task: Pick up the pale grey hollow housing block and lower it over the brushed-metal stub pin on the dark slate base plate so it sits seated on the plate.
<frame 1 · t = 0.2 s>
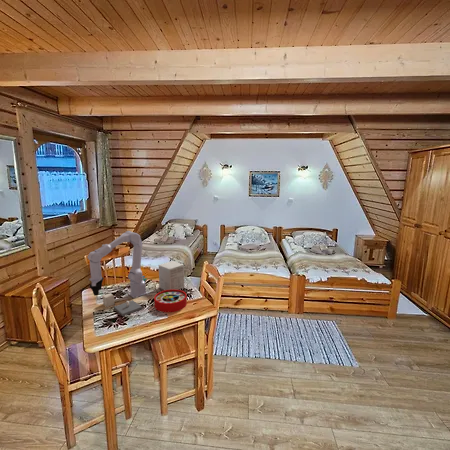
hand: (97, 292, 158), 10 cm above the table, fingers open, 7 cm apart
toy clock: (170, 305, 164), on the table
gear: (139, 284, 194), on the table
supplement box: (171, 287, 189), on the table
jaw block: (108, 304, 163), on the table
stub plate: (128, 309, 158), on the table
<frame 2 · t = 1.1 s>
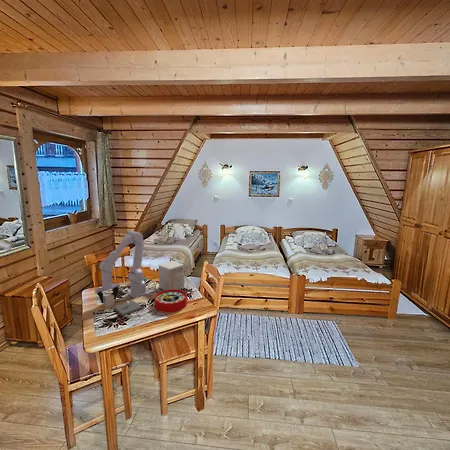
hand: (108, 300, 163), 2 cm above the table, fingers open, 7 cm apart
nothing on the table moved.
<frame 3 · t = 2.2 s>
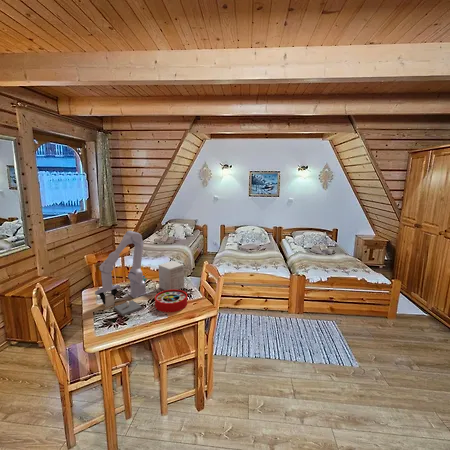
hand: (108, 302, 163), 2 cm above the table, fingers closed on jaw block, 5 cm apart
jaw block: (108, 304, 163), on the table, touching gripper
everything else where it was.
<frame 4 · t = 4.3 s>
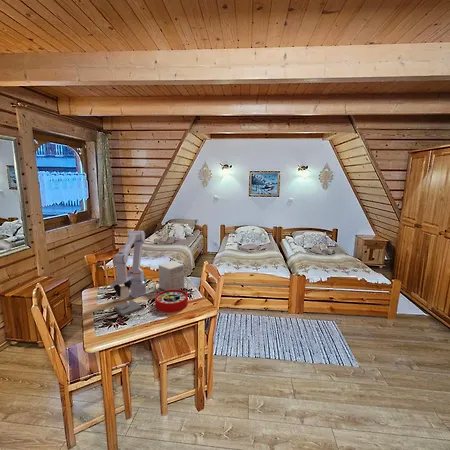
hand: (122, 294, 157), 9 cm above the table, fingers closed on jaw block, 5 cm apart
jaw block: (122, 297, 157), point 7 cm above the table, touching gripper
everything else where it was.
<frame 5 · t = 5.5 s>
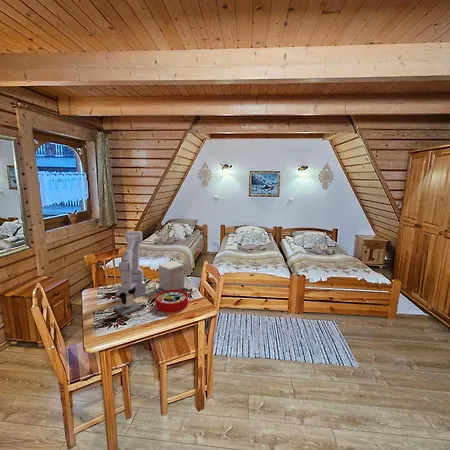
hand: (127, 301, 157), 5 cm above the table, fingers closed on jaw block, 5 cm apart
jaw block: (127, 304, 157), point 3 cm above the table, touching gripper
everything else where it was.
when the fingers open (5 cm above the table, at t = 6.3 s): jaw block drops 1 cm, resting on stub plate.
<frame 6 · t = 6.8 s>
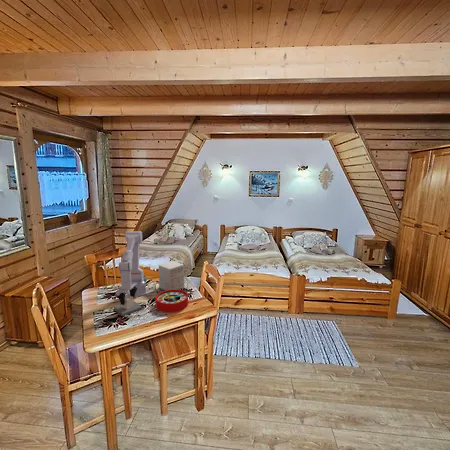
hand: (127, 301, 157), 5 cm above the table, fingers open, 7 cm apart
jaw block: (127, 306, 157), point 1 cm above the table, touching stub plate
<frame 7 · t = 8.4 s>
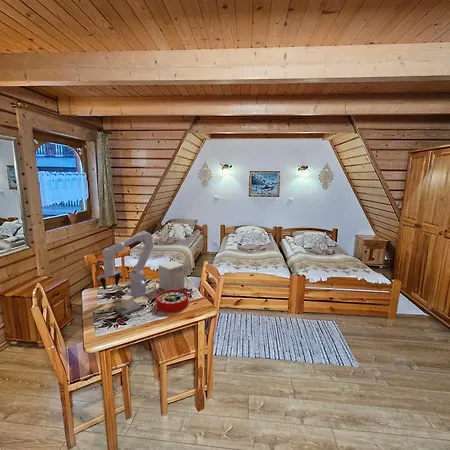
hand: (110, 287, 166), 9 cm above the table, fingers open, 7 cm apart
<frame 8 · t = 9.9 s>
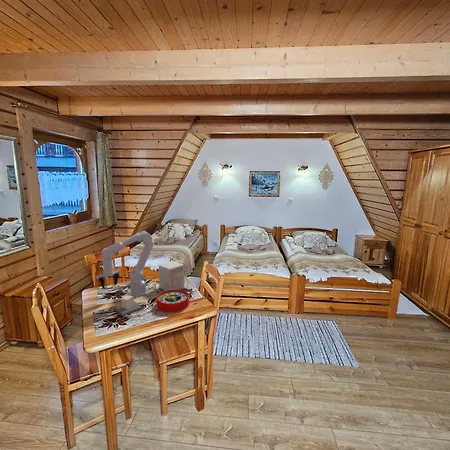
hand: (109, 286, 167), 9 cm above the table, fingers open, 7 cm apart
at the end: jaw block 0.2 cm off-centre on the stub plate, point 1.5 cm above the stub plate's base; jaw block tilted 0°; the gripper is holding nothing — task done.
